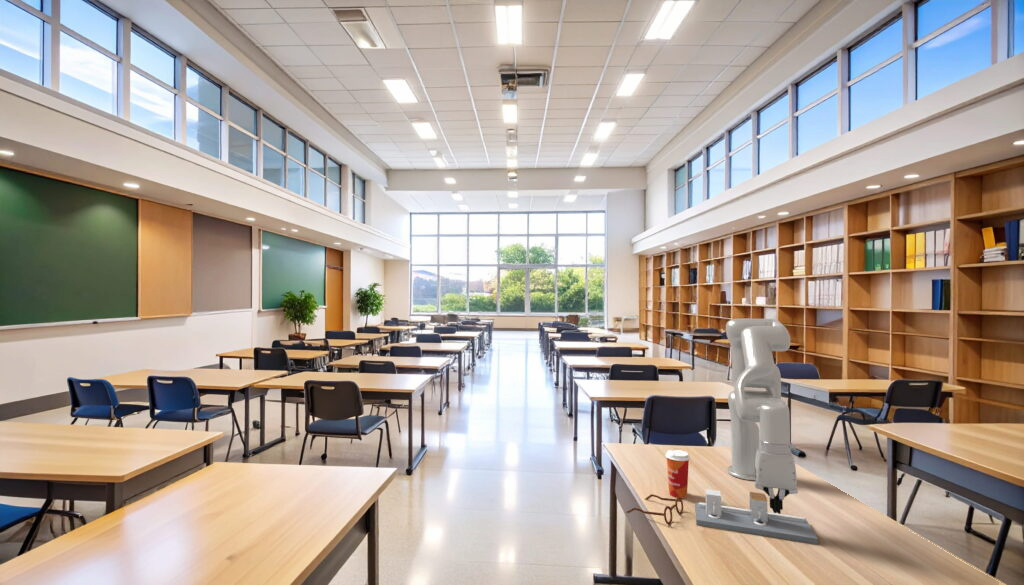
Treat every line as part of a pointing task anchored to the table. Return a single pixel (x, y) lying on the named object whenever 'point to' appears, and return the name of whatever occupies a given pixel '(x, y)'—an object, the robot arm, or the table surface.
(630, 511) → the glasses
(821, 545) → the table surface
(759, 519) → the block
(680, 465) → the paper cup
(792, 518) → the divider plate
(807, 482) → the table surface
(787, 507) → the table surface
